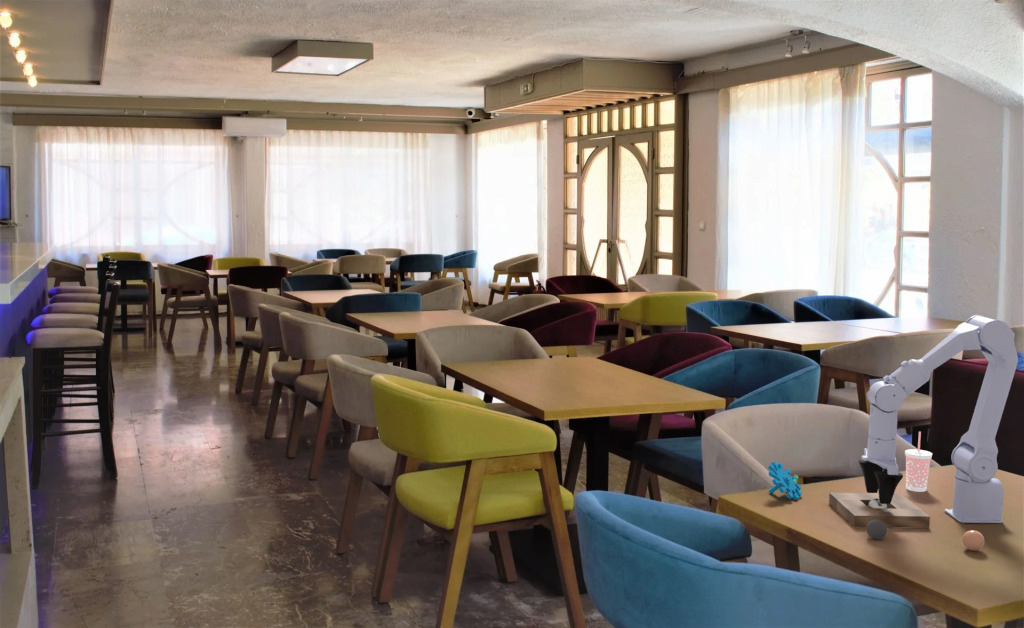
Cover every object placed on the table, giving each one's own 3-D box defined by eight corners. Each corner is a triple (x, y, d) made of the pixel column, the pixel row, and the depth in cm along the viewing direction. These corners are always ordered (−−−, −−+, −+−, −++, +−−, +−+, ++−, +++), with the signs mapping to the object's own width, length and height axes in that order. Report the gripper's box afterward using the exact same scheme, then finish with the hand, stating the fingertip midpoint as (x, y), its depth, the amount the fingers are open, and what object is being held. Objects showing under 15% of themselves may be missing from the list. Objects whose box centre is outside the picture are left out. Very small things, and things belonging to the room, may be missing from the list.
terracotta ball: (977, 546, 197) (979, 527, 197) (987, 553, 193) (989, 534, 193) (958, 546, 197) (959, 527, 197) (967, 553, 193) (968, 534, 193)
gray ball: (881, 535, 203) (883, 516, 203) (889, 542, 199) (890, 523, 199) (862, 535, 203) (863, 516, 203) (869, 542, 199) (871, 522, 199)
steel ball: (887, 497, 216) (893, 513, 213) (872, 506, 218) (878, 522, 216) (876, 493, 214) (882, 509, 211) (861, 501, 216) (867, 517, 214)
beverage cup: (900, 484, 240) (903, 428, 238) (926, 486, 238) (930, 429, 237) (905, 491, 234) (908, 434, 232) (932, 493, 233) (936, 435, 231)
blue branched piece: (789, 498, 222) (765, 461, 227) (770, 512, 225) (747, 475, 230) (813, 495, 230) (789, 459, 235) (794, 508, 233) (771, 472, 238)
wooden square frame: (898, 504, 224) (899, 493, 224) (929, 527, 208) (930, 516, 208) (828, 503, 224) (829, 492, 224) (854, 527, 208) (854, 515, 208)
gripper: (851, 429, 221) (848, 487, 223) (876, 445, 207) (872, 508, 208) (883, 429, 221) (879, 488, 223) (909, 445, 207) (905, 508, 208)
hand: (878, 497), depth 216 cm, fingers open, 7 cm apart
